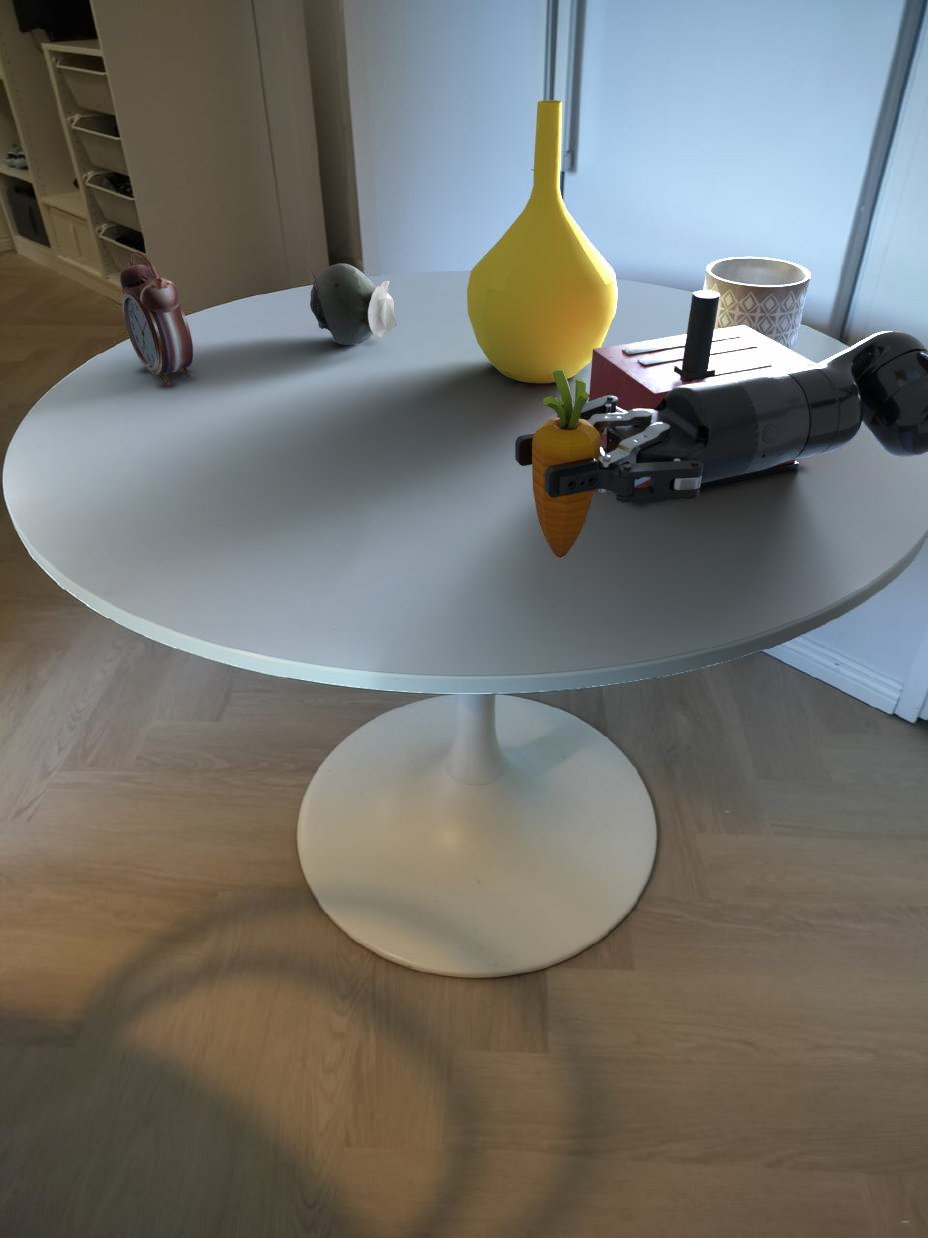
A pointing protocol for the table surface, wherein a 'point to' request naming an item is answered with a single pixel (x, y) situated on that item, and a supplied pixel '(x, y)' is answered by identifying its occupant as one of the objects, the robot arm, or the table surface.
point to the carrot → (558, 446)
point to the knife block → (649, 376)
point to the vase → (542, 279)
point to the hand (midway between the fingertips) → (532, 466)
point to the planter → (760, 296)
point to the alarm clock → (155, 319)
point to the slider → (699, 336)
